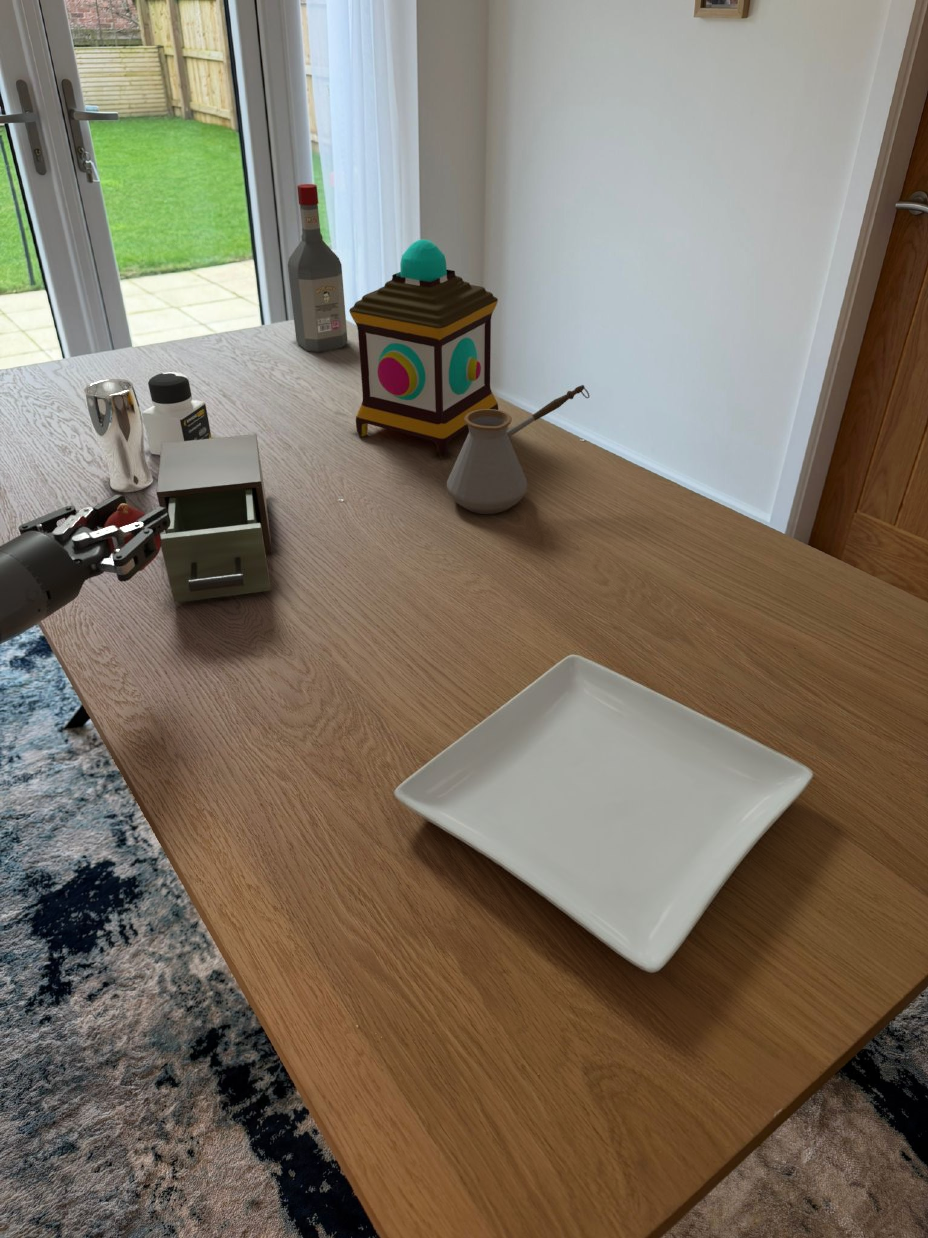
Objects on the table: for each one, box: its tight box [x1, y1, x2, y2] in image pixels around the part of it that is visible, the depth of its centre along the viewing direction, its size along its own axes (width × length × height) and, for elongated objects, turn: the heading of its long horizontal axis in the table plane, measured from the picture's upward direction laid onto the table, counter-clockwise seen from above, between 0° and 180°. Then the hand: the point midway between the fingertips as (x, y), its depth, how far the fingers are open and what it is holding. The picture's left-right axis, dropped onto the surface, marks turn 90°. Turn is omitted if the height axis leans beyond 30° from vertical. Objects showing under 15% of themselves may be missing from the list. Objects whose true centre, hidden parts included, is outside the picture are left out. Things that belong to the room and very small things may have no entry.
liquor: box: [287, 183, 348, 353], centre depth 176 cm, size 9×9×30 cm
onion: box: [102, 503, 161, 572], centre depth 93 cm, size 6×6×8 cm
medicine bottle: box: [141, 371, 213, 456], centre depth 140 cm, size 7×7×12 cm
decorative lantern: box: [349, 238, 499, 459], centre depth 141 cm, size 20×20×30 cm
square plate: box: [393, 653, 814, 974], centre depth 80 cm, size 27×27×4 cm
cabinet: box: [156, 433, 273, 554], centre depth 119 cm, size 15×13×11 cm
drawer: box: [160, 488, 272, 603], centre depth 108 cm, size 19×11×9 cm, turn 13°
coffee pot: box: [446, 384, 590, 515], centre depth 126 cm, size 21×12×15 cm, turn 115°
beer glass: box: [83, 378, 154, 493], centre depth 129 cm, size 7×7×15 cm
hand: (144, 509), depth 93 cm, fingers closed on onion, 5 cm apart
